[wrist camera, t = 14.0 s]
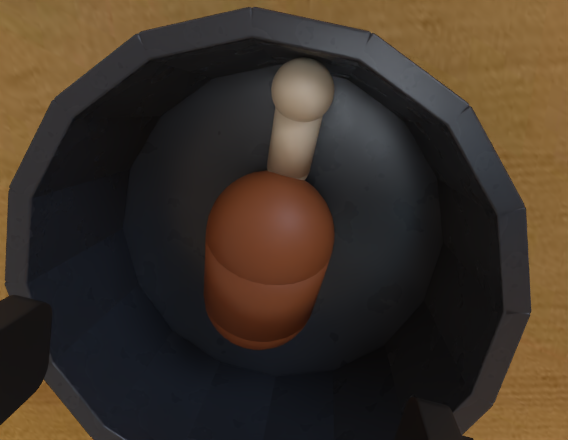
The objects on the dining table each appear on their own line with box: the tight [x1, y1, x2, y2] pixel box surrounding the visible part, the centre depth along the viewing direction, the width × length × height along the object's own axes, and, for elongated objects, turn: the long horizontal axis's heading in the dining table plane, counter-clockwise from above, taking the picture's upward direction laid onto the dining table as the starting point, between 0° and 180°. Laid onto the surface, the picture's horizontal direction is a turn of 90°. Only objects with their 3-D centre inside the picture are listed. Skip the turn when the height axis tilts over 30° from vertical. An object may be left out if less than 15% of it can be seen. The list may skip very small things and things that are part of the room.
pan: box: [5, 7, 531, 440], centre depth 17 cm, size 17×17×8 cm
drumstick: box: [204, 57, 335, 350], centre depth 16 cm, size 12×5×5 cm, turn 168°
